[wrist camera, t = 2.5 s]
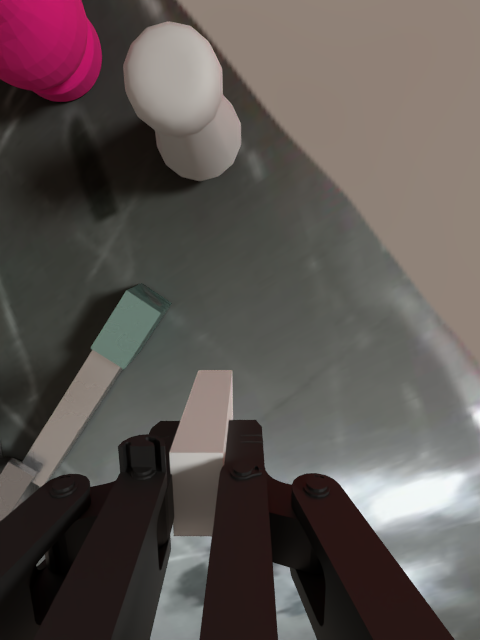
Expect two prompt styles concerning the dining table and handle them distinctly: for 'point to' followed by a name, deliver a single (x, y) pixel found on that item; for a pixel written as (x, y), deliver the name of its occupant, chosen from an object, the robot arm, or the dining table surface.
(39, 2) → the pepper mill
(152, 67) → the salt shaker
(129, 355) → the tongs jaw
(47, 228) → the dining table surface
